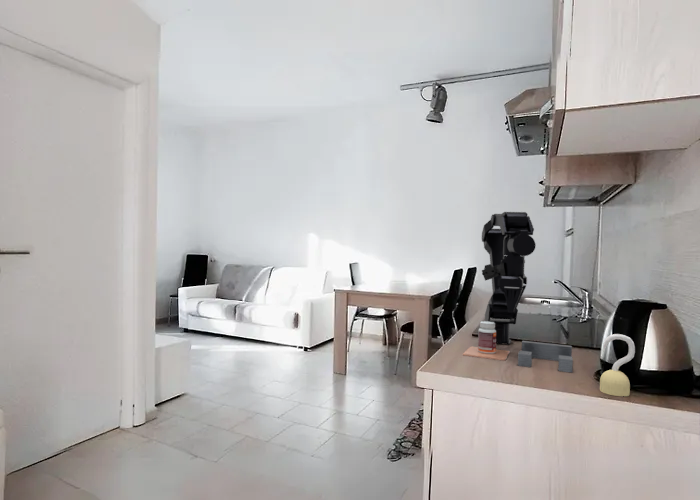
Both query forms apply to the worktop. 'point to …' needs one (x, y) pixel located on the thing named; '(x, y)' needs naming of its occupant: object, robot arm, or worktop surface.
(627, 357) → the hook
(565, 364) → the vise
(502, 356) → the tile
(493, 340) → the pill bottle
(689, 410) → the worktop surface
